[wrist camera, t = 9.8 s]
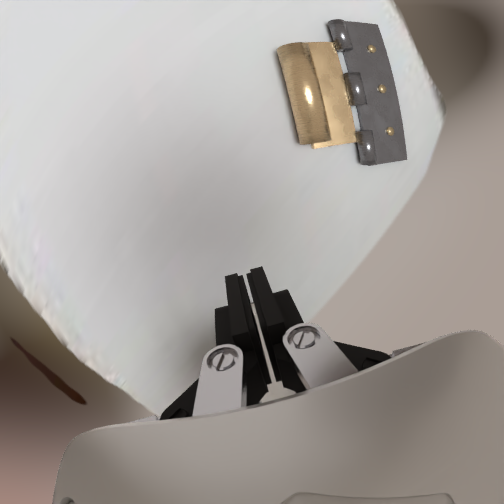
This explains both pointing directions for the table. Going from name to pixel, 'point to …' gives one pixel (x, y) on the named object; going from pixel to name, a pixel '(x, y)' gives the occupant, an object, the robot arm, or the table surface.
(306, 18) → the table surface
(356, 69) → the steel hinge leaf
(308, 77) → the bronze hinge leaf
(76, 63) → the table surface
